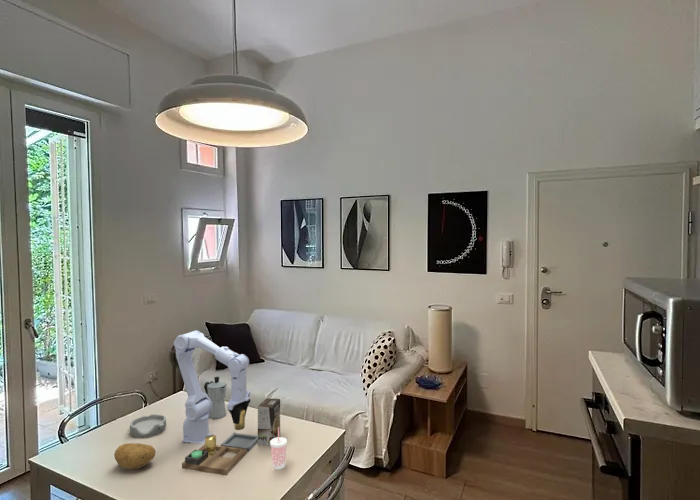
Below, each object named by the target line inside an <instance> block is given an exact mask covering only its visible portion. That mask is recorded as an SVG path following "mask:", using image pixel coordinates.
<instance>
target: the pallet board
mask: <svg viewBox="0 0 700 500" xmlns="http://www.w3.org/2000/svg"><path fill="white" fill-rule="evenodd" d="M197 450H200V451H202V456H201V457H200V458H191V454H192V452H194V451H197ZM227 453H232V454H235V455H234V456H233V457H225V456H224V455H225V454H227ZM247 453H248V452H247V449H241V448H234V447H226V446H221V445H219V444H216V453H215V454H214V455H213V456H212V455H208V451H205V443H203V445H202V446H201V447H200V448H198V449H194V450H193V451H191V452H190V453H189V454H188V455H186V456H185V458H184V461H183V462H181V469H182V470H188V471H195V472H202V473H208V474H212V475H214V474H215V475H220V476H225V477H227V476H228V475H229V473H230V471H231V470H232V469H233V468H234V467H235V466H236V465H237V464H238V463H239V462H240V461H241V460H242V459H243V458H244V457H245V456H246V455H247Z"/></svg>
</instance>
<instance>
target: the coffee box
mask: <svg viewBox="0 0 700 500" xmlns="http://www.w3.org/2000/svg"><path fill="white" fill-rule="evenodd" d="M278 427H279V437H281V399H280V398H268V397H266V398H265V399H264V400H263V401H262V402H261V403H260V404H258V406H257V436H258V442H257V446H262V447H270V448H271V446H270V441H271V440H272V439H273V438H276V437H278Z"/></svg>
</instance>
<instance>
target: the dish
mask: <svg viewBox="0 0 700 500" xmlns="http://www.w3.org/2000/svg"><path fill="white" fill-rule="evenodd" d="M166 427H167V418H166V416H165V415H164V414H159V413H158V414H155V413H151V414H150V415H143V416H139V417H136V418H134V419H133V420H131V422H130V423H129V432H130V435H131V436H132V437H134V438H141V439H142V438H149V437H153V436H156V435H159V434H161V433H163V432H164V431H165V430H166Z"/></svg>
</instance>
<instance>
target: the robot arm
mask: <svg viewBox="0 0 700 500" xmlns="http://www.w3.org/2000/svg"><path fill="white" fill-rule="evenodd" d="M173 346H174V350H175V358H176V360H177V364H178V367H179V371H180V375H181V377H182V380H183V384H184V387H185V390H186V393H187V399H186V402H185V403H184V407H185V417H186V418H185V419H184V421H183V425H182V434H183V438H182V441H181V442H182V443H188V444H189V443H190V444H191V443H194V444H201V445H202V444H205V437H206V436H209V435H214V434H213V433H209V432H210V427H209V426H210V425H209V421H210V420H209V419H210V418H209V414H210V413H209V412H210V411H211V410H212V402H211V400H210V399H209V397H208V395H207V394H206V392H203V390H202V387H201V384H200V380H199V377H198V374H197V371H196V368H195V363H194V360H193V358H192V355H193V353H194V351H195V349H197V348H200V349H202V350H203V351H204V350H205V351H206V352H208V353H210V354H212V355H214V357H215V360H217V361H218V362H219V363H221V364H223V365H225V366H226V367H227V368H228V370H229V372H230V376H231V378H230V379H231V380H230V381H231V384H230V385H231V389H230V390H231V398H230V400H229V401H228V403H227V404H226V411H228V412H229V413H230V416H231V419H232V423H233V424H239V421H240V413H241V410H242V408H244V409H245V417H246V415H247V411H248V408H249V404H250V403H251V399H250V398H249V397H250V396H251V391H250V390H247V368H248V367H249V365H250V359H249V357H248V356H247V355H245V353H244V354H243V353H241V354H239V353H238V352H235V351H233V350H232V349H230V348H229V347H228V346H221V347H220V346H218V345H217V344H216V343H214V342H213V341H211V340H210V339H209V338H207V337H206V336H205V335H204V333H203V332H201V331H199V330H193V331H190V332H187V333H183V334H179V335H178V336H176V338H175V339H174V341H173Z"/></svg>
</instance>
